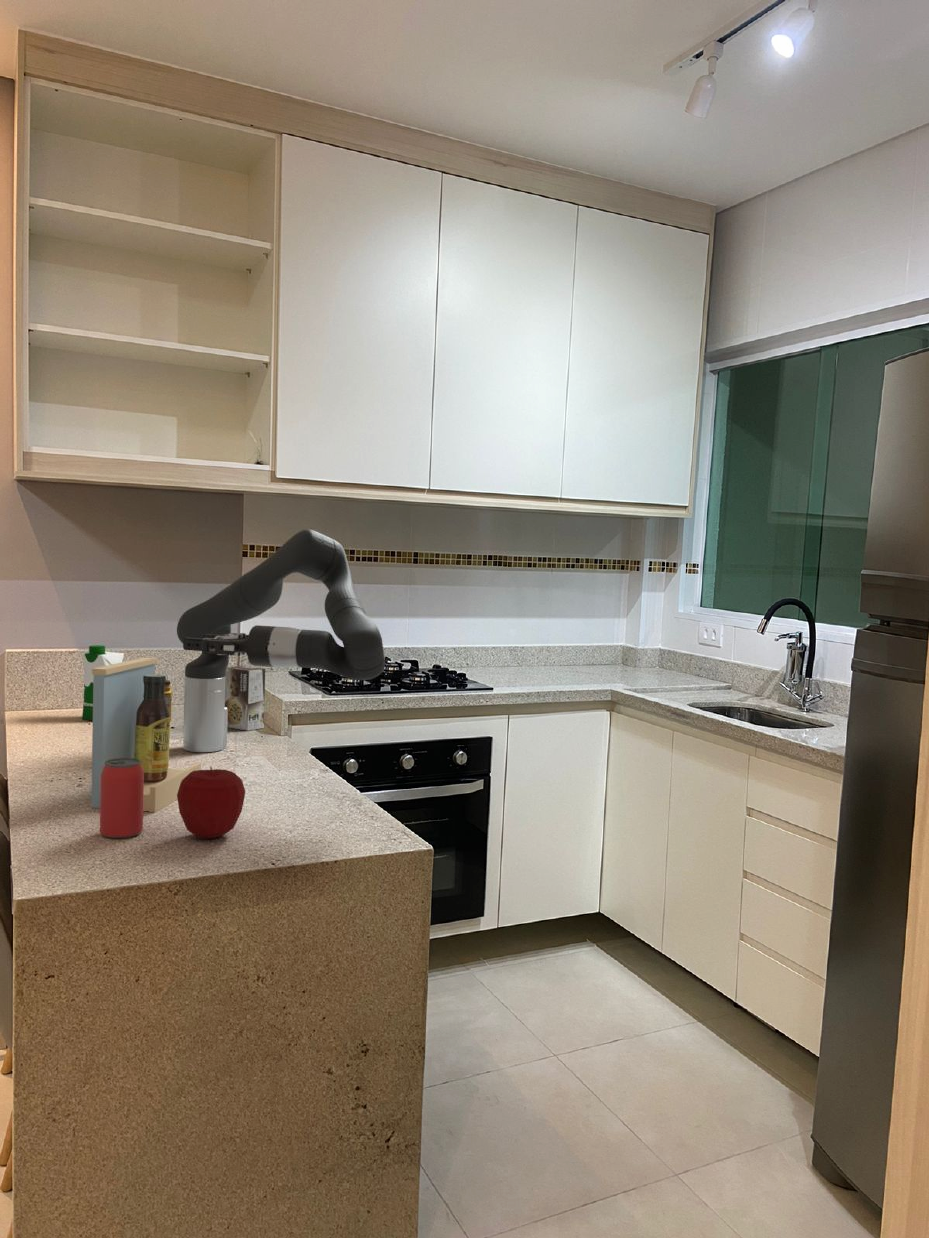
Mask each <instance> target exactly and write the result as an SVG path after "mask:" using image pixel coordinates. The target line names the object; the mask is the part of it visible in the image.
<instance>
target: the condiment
mask: <svg viewBox="0 0 929 1238" xmlns="http://www.w3.org/2000/svg"><path fill="white" fill-rule="evenodd" d="M164 688H165V689H164V695H165V697H164V699H165V702H166V705H167V708H168V711H169V715H170V722H171V723H172V698H173V697H172V694H173V693H172V690H171V681H170V680H168V679H166V682H165V687H164ZM172 725H173V724H172ZM173 726H175V725H173Z"/></svg>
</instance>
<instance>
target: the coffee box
mask: <svg viewBox="0 0 929 1238" xmlns="http://www.w3.org/2000/svg"><path fill="white" fill-rule="evenodd" d="M265 687H266V668H262V667H257V666H247V665H237V666H230V667H229V666H228V667H227V669H226V676H225V707H226V708H227V709H228V721H227V728H230V729H236V730H242V731H254V730H259V729H264V728H265V696H266V695H265V693H266V692H265V691H266V688H265Z"/></svg>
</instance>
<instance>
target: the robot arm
mask: <svg viewBox="0 0 929 1238" xmlns="http://www.w3.org/2000/svg"><path fill="white" fill-rule="evenodd" d="M296 573H298V574H301V575H303V576H306V577H308V578H311V579H313V580H315V581H320V582H321V583H323V584H324V586H325V587H326V589H327V590H328V593H327V594H326V597H325V599H324V612H325V615H326V617H327V621H328V622H329V625H330V626H331V629H332V630H333V632H334V635H335V636H336V637H337V639H339V641H341V642H342V645H343V646H342V645H339V643H337V641H336V639H335V637H334V636H333V635H332V634H331V632H329V631H326V630H318V629H317V630H316V629H303V628H302V629H300V628H295V627H290V626H272V625H259V624H258V625H257V624H255V625H254V626H253V627H251V628H250V630H249V632H248V634H247V633H244V632H240V633H239V632H238V633H235V632H232V626H231V625H234V624H238V623H241V622H242V623H243V622H246V621H249V620H251V619H254V618H256V617H259V616H261V615H262V614H264V613H265V612H267V611H268V610H270V609H271V608H273V607H274V606H276V604H277V603H278V602H279V600H280V599H281V596H282V593H283V585H284V579H285V578H286V577H289V575H292V574H296ZM354 585H355V584H354V581H353V578H352V572H351V570H350V565H349V561H348V557H347V554H346V551H345V549H344V547H343V545H342V544H341V543H340V542H338V540H335V539H333V538H331V537H329V536H327V535H325V534H323V533H320V532H318V531H316V530H314V529H310V528H306V529H303V530H300V531H298V532H296V533H295V534H294V535H292V536H291V537H290V538H289V539H288V540H286V542H284V543H283V544H282V545H281V546H280V547H279V548H278V549H277V550H276V551H275V552H274V553H273V554H271V555H270V556H268V558H266V559H265V560H264V561H262V562H261V563H260V564H258V565H257V566H256V567H254V568H252V569H250V570H249V571H248V572H245V573H244V574H243V575H242V576H240V577H239V578H237V579H235V580H234V582H232V583H231V584H230V585H227V586H226V587H225V588H224V589H222V590H220V591H219V592H217V593H216V594H215V595H213V596H212V597H210V598H209V599H207V600H206V601H203V602H201V603H198V604H197V605H194V606H193V607H191V608H188V609H187V610H186V611H185V612H183V614H182V615H180V618H179V619H178V622H177V624H176V625H177V626H176V635H177V638H178V639H179V641H180V642H181V643H182V649H183V650H185V651H194V652H195V651H197V652H198V651H199V652H201V654H200V655H199V656H197V658H195V659H193V660H192V661H190V662H187V664H186V665H185V666H184V693H183V694H184V697H183V698H184V699H183V701H184V703H183V704H184V705H183V737H182V738H183V741H182V742H183V744H182V745H183V746H182V749H183V750H184V751H186V752H192V753H211V752H219V751H221V750H224V748H225V749H226V748H228V727H227V721H228V709H227V708H226V707H225V676H226V669H227V668H228V667H229V666H228V665H229V661H230V656H231V657H241V655H243V656H245V655H246V656H247V660H248V663H249V664H250V665H252V667H268V668H269V667H270V668H284V669H288V668H289V669H290V668H291V669H292V668H306V669H307V668H308V669H322V670H324V671H327V672H330V673H333V674H335V675H338V676H341V677H345V678H348V679H352V680H355V681H356V680H357V681H368V680H373V679H375V678H376V677H378V676H380V675H381V674H382V673H383V671H384V670H385V667H386V666H385V665H386V660H385V652H384V644H383V638H382V635H381V633H380V630H379V628H378V626H377V625H376V623H375V622H374V621H373V620H372V619H371V618H370V617H369V616H368V615H367V612H366V610H365V608H364V606H363V605H362V603H361V601H360V599H359V597H358V594H357V592H356V589H355V586H354Z"/></svg>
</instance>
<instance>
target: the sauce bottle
mask: <svg viewBox="0 0 929 1238" xmlns="http://www.w3.org/2000/svg"><path fill="white" fill-rule="evenodd" d="M166 680H167V678H166V675H165V674H156V673H155V674H150V675H144V676H143V682H144V695H143V697H144V700H143V701H142V703H141V704H140V706H139V707H138V709H137V713H136V725H135V749H134V758H135V759H139V760H140V761H141V763H140V764H141V766H142V769H143V772H144V782H153V781H161V780H164V779H165V778H166V777H167V771H168V769H169V765H170V764H169V760H170V759H169V758H170V736H171V728H170V715H169V711H168V708H167V705H166V702H165V699H164V697H165V695H164V689H165V688H164V687H165V682H166Z"/></svg>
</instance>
